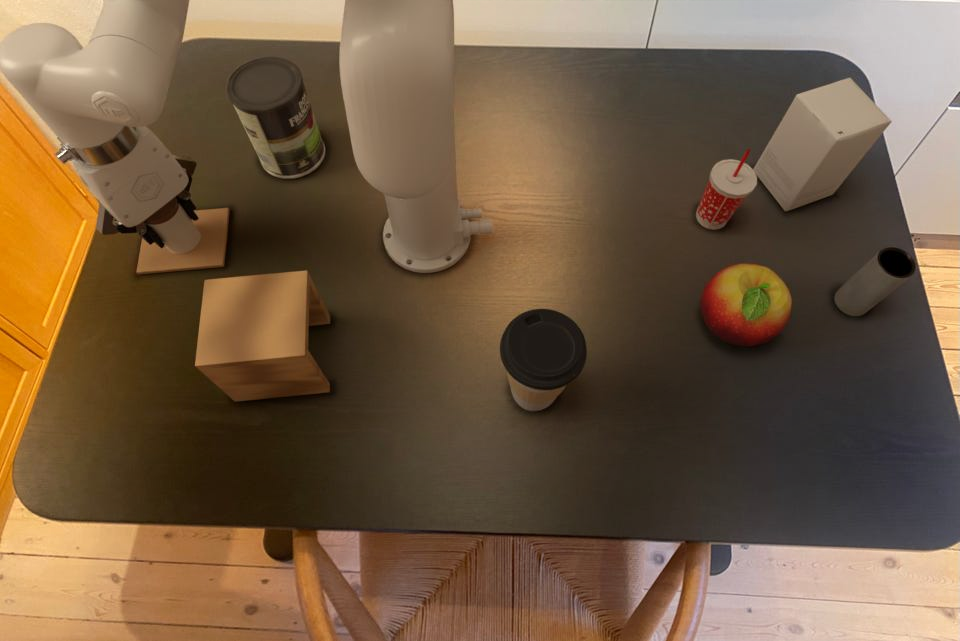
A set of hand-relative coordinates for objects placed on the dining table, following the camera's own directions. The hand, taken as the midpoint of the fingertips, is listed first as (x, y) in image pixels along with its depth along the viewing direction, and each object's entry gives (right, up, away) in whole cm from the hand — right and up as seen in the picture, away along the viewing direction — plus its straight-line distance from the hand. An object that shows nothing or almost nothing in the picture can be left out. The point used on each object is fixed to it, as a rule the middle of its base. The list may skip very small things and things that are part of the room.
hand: (173, 227), depth 85 cm
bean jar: (0, -1, +3) cm, 3 cm away
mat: (0, -2, +3) cm, 3 cm away
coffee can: (+14, +13, +11) cm, 22 cm away
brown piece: (+17, -18, -5) cm, 25 cm away
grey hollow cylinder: (+94, -11, -2) cm, 94 cm away
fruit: (+77, -13, -3) cm, 78 cm away
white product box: (+91, +8, +8) cm, 91 cm away
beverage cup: (+77, +2, +5) cm, 77 cm away
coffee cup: (+50, -22, -7) cm, 55 cm away
